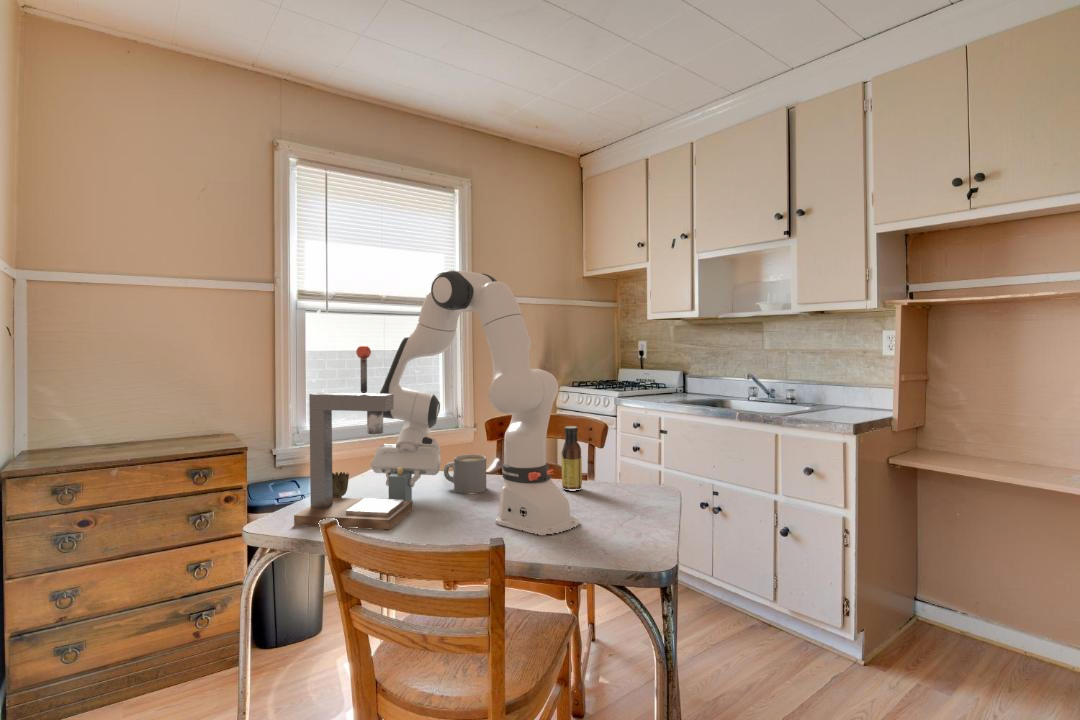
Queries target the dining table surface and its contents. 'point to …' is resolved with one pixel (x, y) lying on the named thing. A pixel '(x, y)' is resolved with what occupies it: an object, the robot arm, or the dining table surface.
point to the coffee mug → (467, 473)
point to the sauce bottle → (571, 460)
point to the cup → (339, 484)
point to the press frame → (322, 440)
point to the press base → (361, 521)
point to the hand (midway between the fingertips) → (399, 485)
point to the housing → (400, 485)
